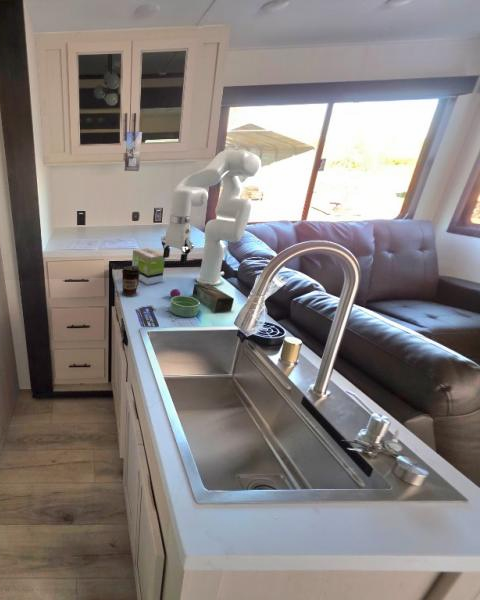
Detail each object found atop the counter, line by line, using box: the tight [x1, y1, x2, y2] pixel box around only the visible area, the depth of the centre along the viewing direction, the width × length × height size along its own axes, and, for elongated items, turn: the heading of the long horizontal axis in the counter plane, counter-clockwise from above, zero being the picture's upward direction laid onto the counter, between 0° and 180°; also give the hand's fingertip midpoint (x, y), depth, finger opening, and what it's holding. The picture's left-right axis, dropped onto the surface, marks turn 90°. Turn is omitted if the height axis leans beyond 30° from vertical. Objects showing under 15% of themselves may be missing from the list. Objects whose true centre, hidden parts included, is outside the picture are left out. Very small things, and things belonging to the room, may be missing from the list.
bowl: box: [169, 295, 201, 318], centre depth 129 cm, size 11×11×5 cm
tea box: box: [131, 247, 166, 286], centre depth 164 cm, size 15×10×15 cm, turn 25°
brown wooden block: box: [191, 282, 235, 313], centre depth 137 cm, size 8×19×7 cm, turn 11°
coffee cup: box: [121, 265, 140, 297], centre depth 146 cm, size 9×8×13 cm
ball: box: [169, 288, 181, 298], centre depth 143 cm, size 4×4×4 cm
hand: (174, 260), depth 136 cm, fingers open, 9 cm apart
